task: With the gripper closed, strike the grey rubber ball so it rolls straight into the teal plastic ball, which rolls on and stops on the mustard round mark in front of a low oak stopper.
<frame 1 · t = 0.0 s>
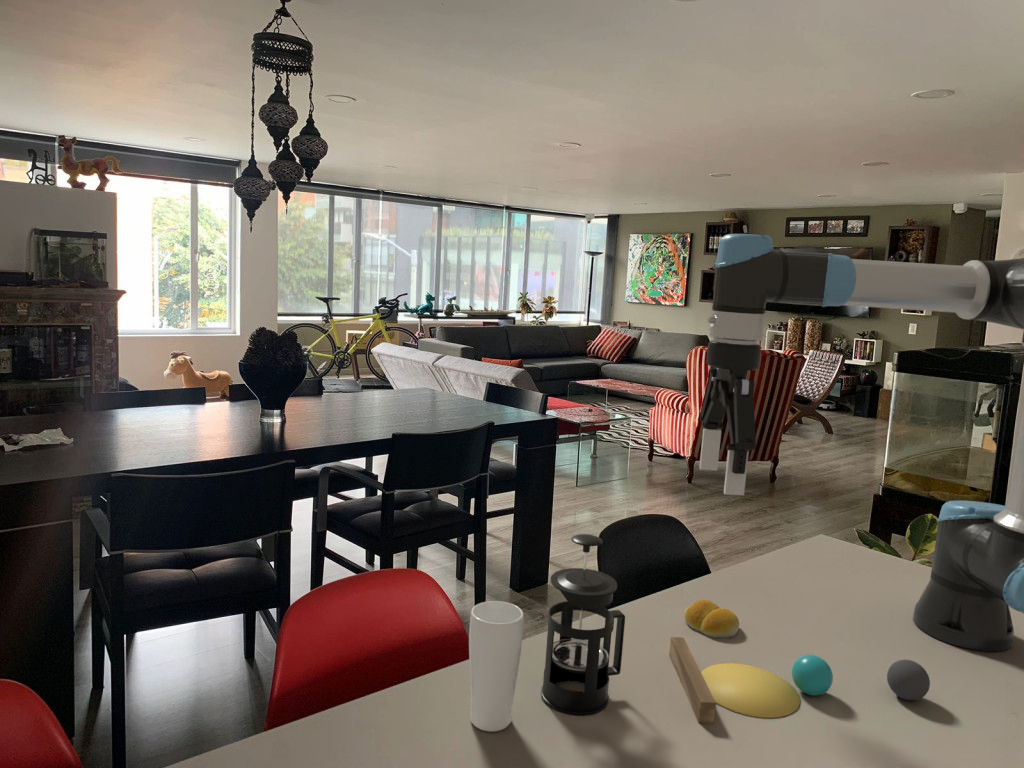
hand: (720, 481, 116), 28 cm above the table, tool pointing down, fingers open, 13 cm apart
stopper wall: (689, 686, 110), on the table
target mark: (748, 689, 110), on the table
drinking glass: (490, 723, 99), on the table
ball B: (812, 674, 110), on the table
ball A: (908, 679, 110), on the table
bread roll: (710, 628, 130), on the table
french press: (577, 697, 106), on the table
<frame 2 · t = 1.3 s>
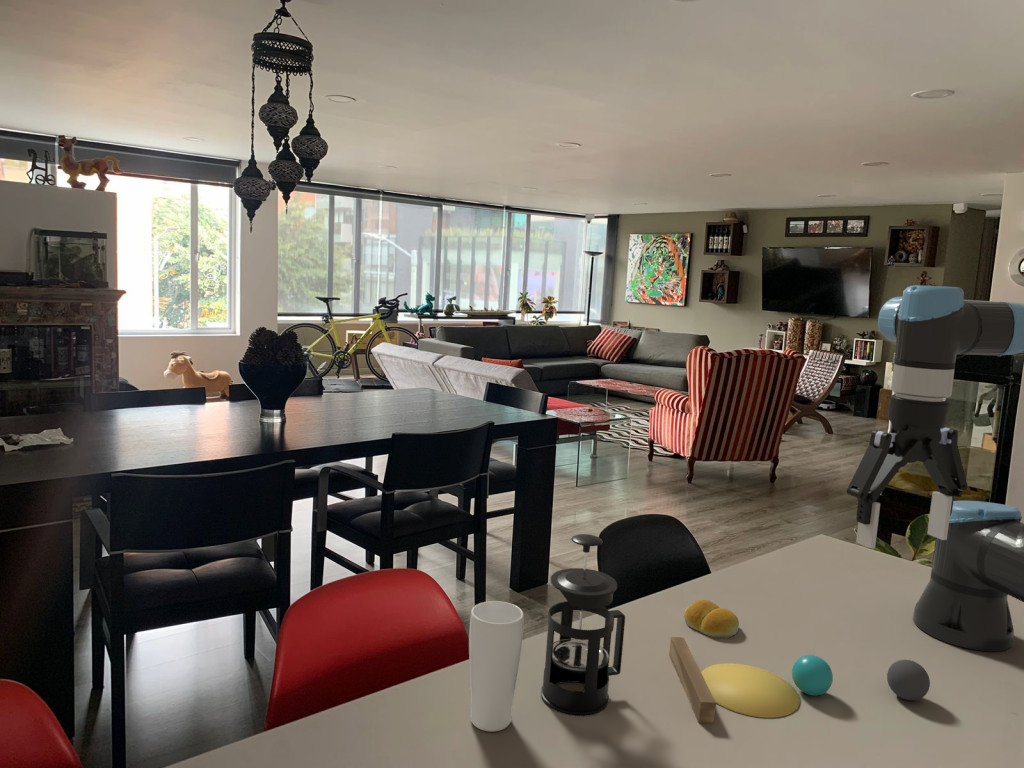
hand: (901, 541, 111), 22 cm above the table, tool pointing down, fingers open, 13 cm apart
nothing on the table moved.
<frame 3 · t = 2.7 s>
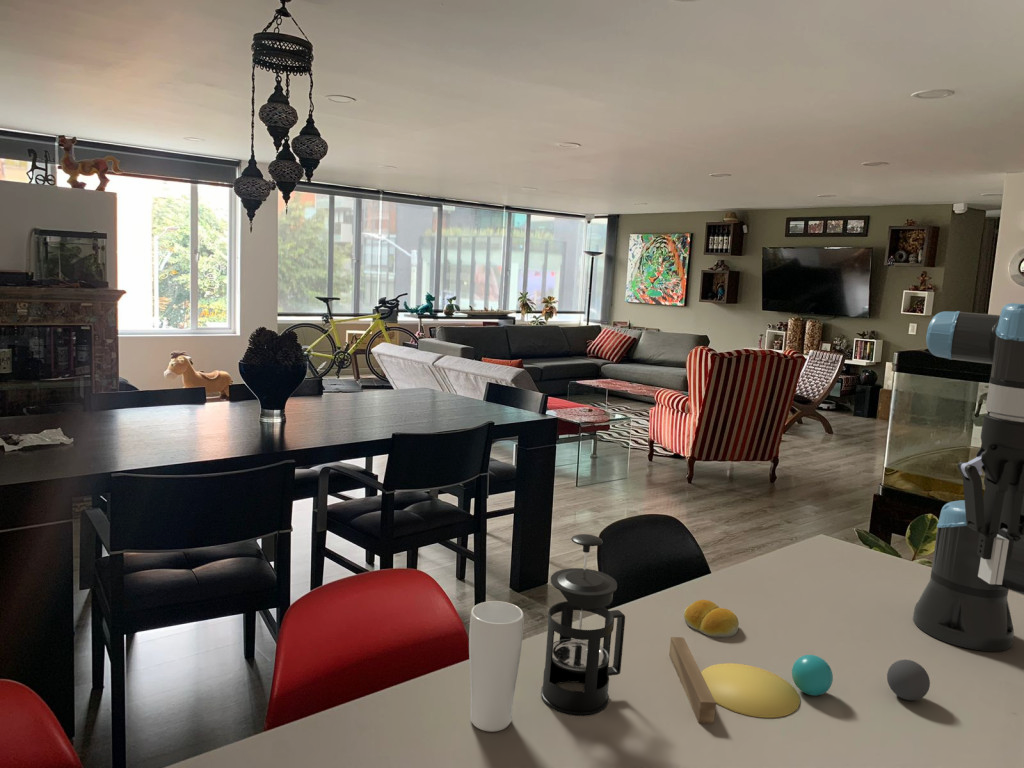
hand: (989, 580, 108), 18 cm above the table, tool pointing down, fingers closed
nothing on the table moved.
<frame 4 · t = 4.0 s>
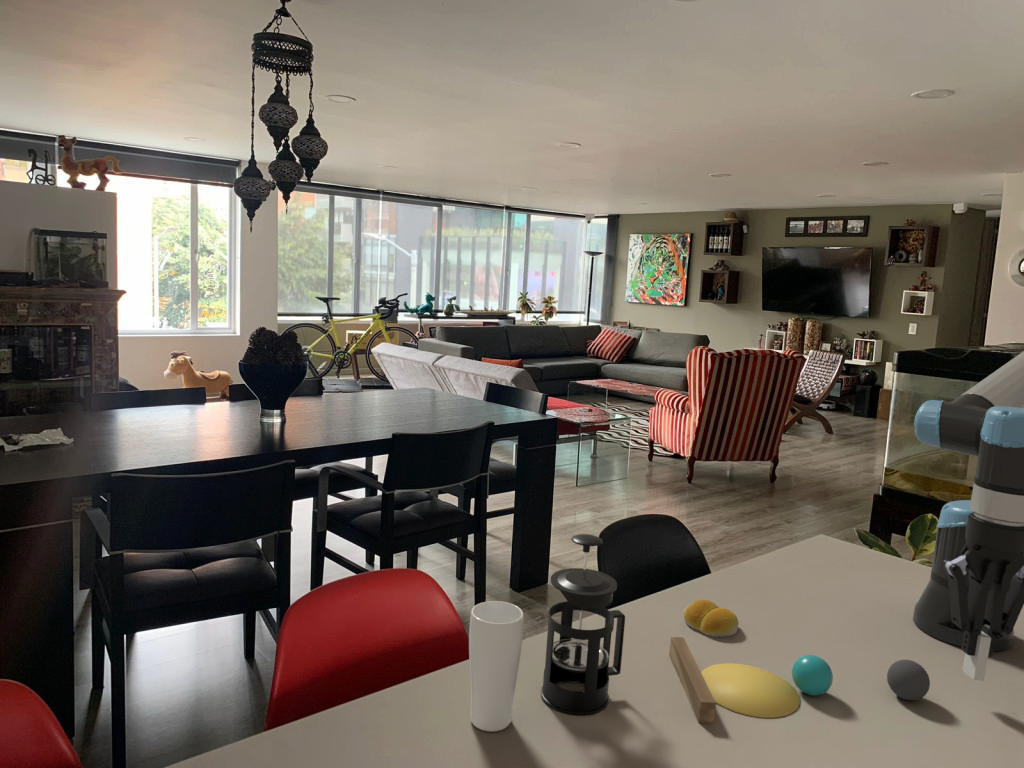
hand: (973, 675, 110), 4 cm above the table, tool pointing down, fingers closed
nothing on the table moved.
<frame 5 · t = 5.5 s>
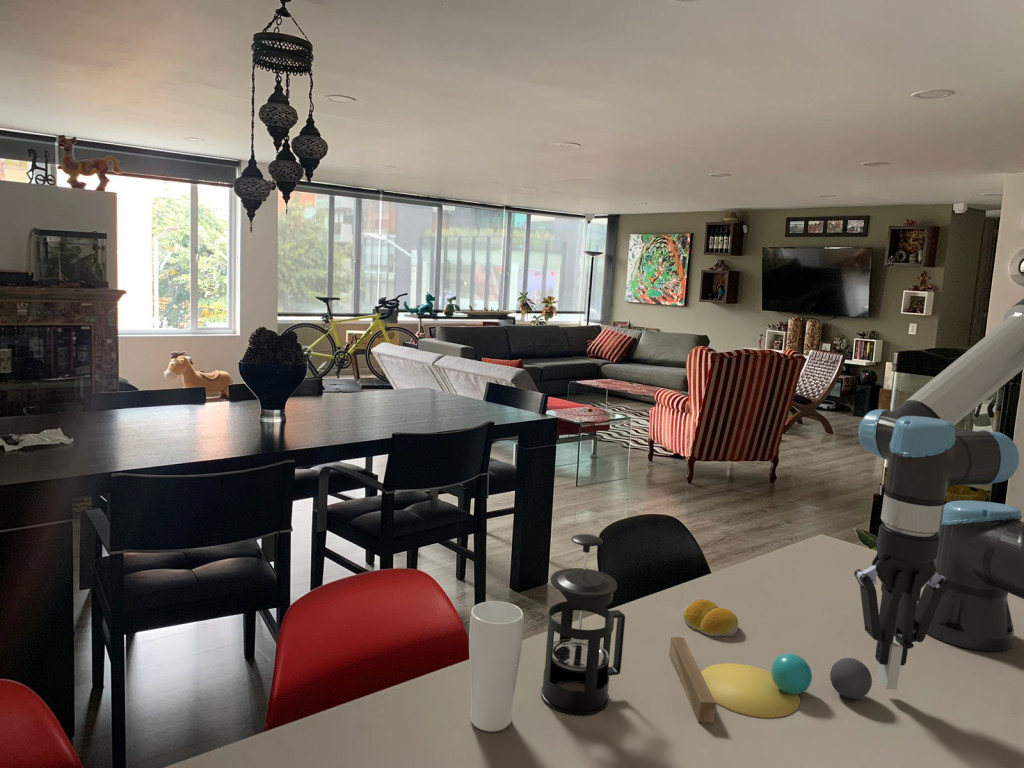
hand: (886, 684, 110), 2 cm above the table, tool pointing down, fingers closed
ball B: (791, 673, 110), on the table
ball A: (850, 678, 110), on the table
everything else where it was.
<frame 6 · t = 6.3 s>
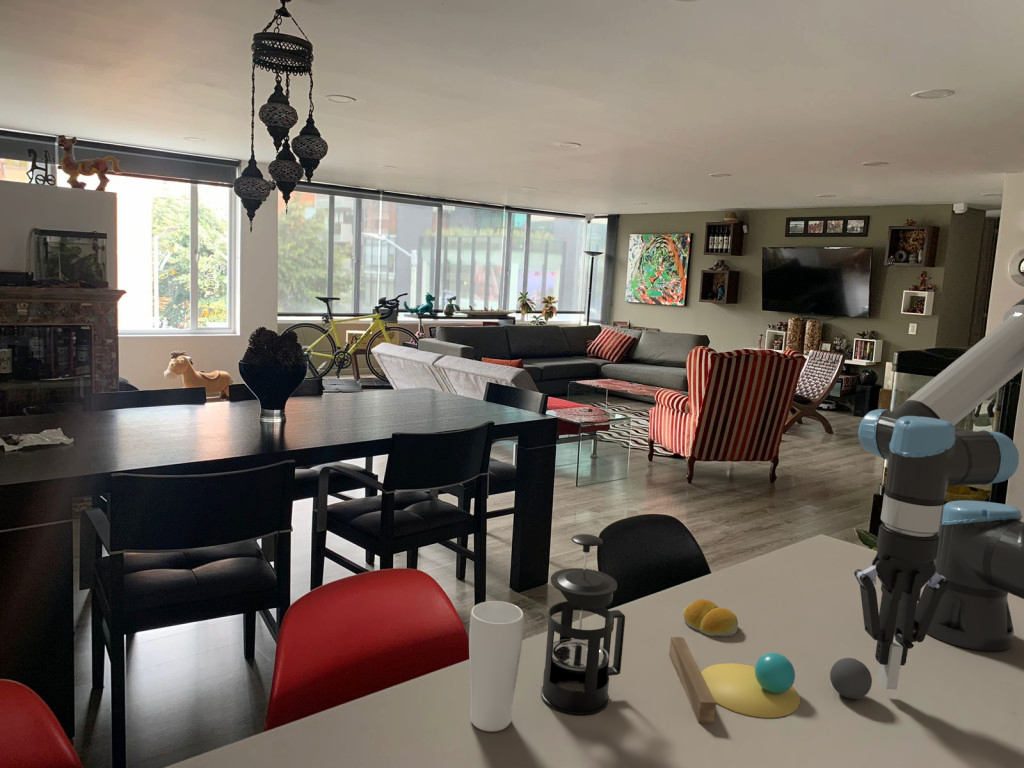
hand: (886, 684, 110), 2 cm above the table, tool pointing down, fingers closed
ball B: (774, 672, 110), on the table
everything else where it was.
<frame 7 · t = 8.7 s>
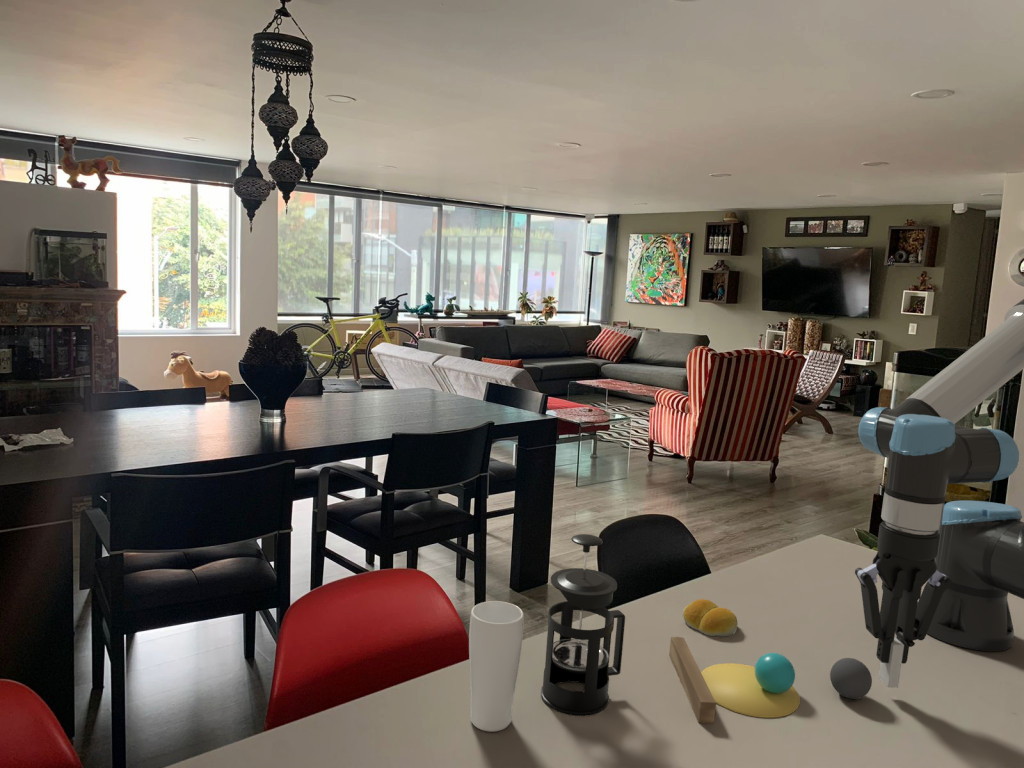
hand: (888, 682, 110), 2 cm above the table, tool pointing down, fingers closed
nothing on the table moved.
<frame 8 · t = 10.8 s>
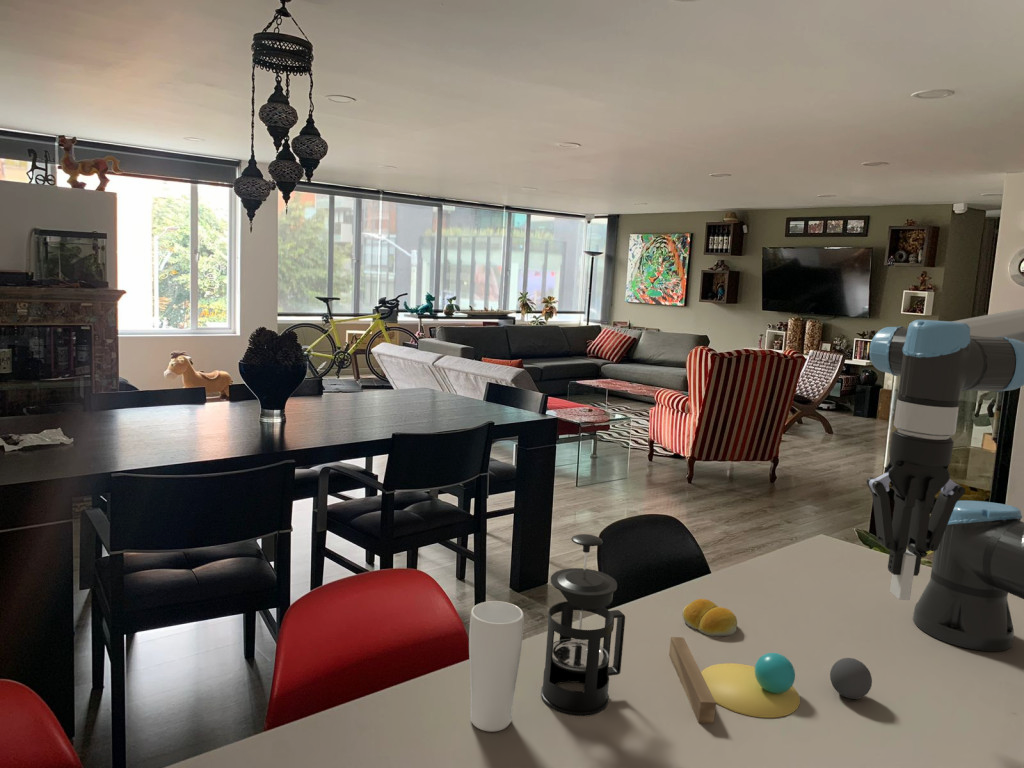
hand: (899, 595, 108), 15 cm above the table, tool pointing down, fingers closed
nothing on the table moved.
at the end: ball B 3.6 cm from the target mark (horizontally); ball B never touched the robot; ball A first touched ball B at 5.1 s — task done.
